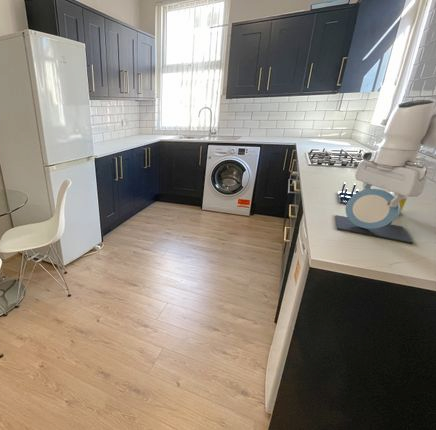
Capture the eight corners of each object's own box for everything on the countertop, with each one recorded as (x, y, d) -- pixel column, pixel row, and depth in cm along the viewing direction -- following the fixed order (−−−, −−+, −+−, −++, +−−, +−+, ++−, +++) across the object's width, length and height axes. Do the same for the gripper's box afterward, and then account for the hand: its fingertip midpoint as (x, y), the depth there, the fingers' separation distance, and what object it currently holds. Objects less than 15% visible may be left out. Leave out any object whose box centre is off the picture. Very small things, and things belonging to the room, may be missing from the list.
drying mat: (401, 228, 94) (402, 226, 94) (411, 244, 83) (412, 242, 83) (335, 216, 103) (335, 215, 103) (336, 229, 93) (337, 228, 92)
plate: (338, 212, 99) (369, 181, 92) (375, 237, 90) (412, 205, 83) (336, 212, 98) (366, 180, 91) (373, 237, 89) (410, 204, 82)
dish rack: (365, 197, 124) (370, 184, 121) (370, 208, 111) (376, 193, 109) (337, 193, 129) (341, 181, 127) (339, 203, 117) (343, 189, 114)
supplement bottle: (404, 214, 105) (414, 189, 101) (392, 215, 104) (402, 190, 100) (388, 209, 110) (398, 185, 106) (377, 210, 109) (386, 186, 105)
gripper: (441, 165, 74) (420, 213, 80) (377, 152, 93) (363, 192, 99) (417, 165, 75) (397, 213, 80) (358, 152, 94) (345, 191, 99)
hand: (378, 201), depth 89 cm, fingers open, 8 cm apart
